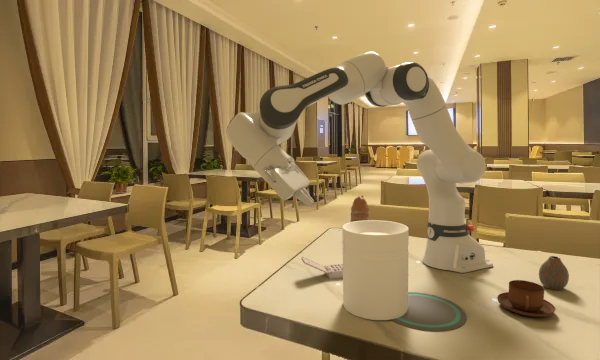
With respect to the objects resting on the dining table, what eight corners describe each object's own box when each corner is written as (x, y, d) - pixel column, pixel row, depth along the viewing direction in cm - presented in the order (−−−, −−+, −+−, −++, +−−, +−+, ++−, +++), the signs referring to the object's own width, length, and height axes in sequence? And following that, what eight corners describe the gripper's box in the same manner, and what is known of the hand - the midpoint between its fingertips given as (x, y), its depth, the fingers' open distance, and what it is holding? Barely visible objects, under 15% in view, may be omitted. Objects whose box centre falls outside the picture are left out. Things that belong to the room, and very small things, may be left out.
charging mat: (416, 279, 107) (416, 271, 107) (486, 324, 80) (486, 314, 80) (354, 285, 102) (354, 277, 102) (406, 336, 75) (407, 325, 75)
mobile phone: (300, 256, 111) (375, 251, 116) (300, 274, 111) (375, 268, 116) (304, 263, 105) (383, 257, 110) (304, 282, 106) (383, 275, 111)
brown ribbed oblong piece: (364, 239, 152) (365, 197, 150) (347, 236, 156) (347, 196, 154) (371, 234, 159) (372, 195, 157) (354, 232, 163) (355, 193, 161)
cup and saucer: (565, 323, 81) (567, 297, 80) (508, 319, 83) (510, 294, 82) (539, 300, 92) (540, 278, 92) (489, 297, 94) (491, 275, 94)
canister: (356, 287, 100) (356, 218, 98) (414, 298, 92) (415, 223, 90) (332, 311, 87) (331, 230, 85) (398, 326, 79) (398, 238, 77)
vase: (559, 294, 96) (561, 262, 95) (532, 285, 102) (534, 255, 101) (572, 289, 99) (575, 258, 98) (546, 280, 105) (548, 252, 104)
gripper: (270, 158, 81) (312, 202, 80) (292, 155, 101) (326, 190, 100) (252, 177, 82) (293, 220, 81) (277, 170, 102) (310, 205, 101)
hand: (311, 204), depth 90 cm, fingers closed
